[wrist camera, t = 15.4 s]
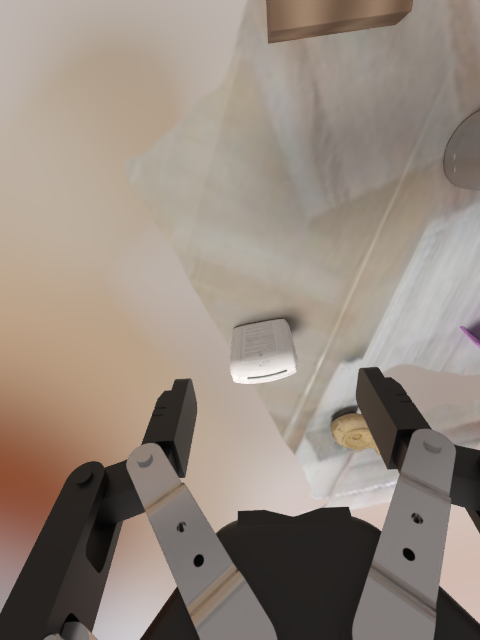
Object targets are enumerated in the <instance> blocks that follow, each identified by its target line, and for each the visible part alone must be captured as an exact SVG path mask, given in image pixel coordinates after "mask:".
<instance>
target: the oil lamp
mask: <svg viewBox="0 0 480 640" xmlns="http://www.w3.org/2000/svg"><path fill="white" fill-rule="evenodd" d="M331 431H332V435H333V438H334V439H335V441H336V442H337V443H338V444H339V445H341V446H344V447H347V448H351V449H357V450H358V451H361V450H363V449H366V448H374V449H375V450H376V452H377V454H378V455H381V454H380V452H379V450H378V448H377V445H376V443H375V441H374V439H373V437H372V435H371V432H370V430H369V428H368V426H367V424H366V422H365V420H364V417H363V415H362V414H356V413H349V414H345V415H343V416H340V417H339V418H337V419H336V420H334V421H333V423H332V424H331Z"/></svg>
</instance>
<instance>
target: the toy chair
mask: <svg viewBox="0 0 480 640" xmlns="http://www.w3.org/2000/svg"><path fill="white" fill-rule="evenodd" d="M460 328H461V329H462V330H463V331H464V333H465V334H466V335H467V336H468V337H469V338H470V339H471V340H472V341H473V342H474V343H475V344H476V345H477V346H478V347H480V341H479V340H477V339H476V338H475V337H474V336H473V335H472V334H471V333H469V332H468V331H467V330H466V329H465V328H464V327H463V326H461V327H460Z"/></svg>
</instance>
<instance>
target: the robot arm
mask: <svg viewBox="0 0 480 640" xmlns="http://www.w3.org/2000/svg"><path fill="white" fill-rule="evenodd" d="M444 170H445V173H446V176H447V177H448V179H449V180H450V182H451V183H453V184H454V185H455V186H457V187H460V188H464V189H471V190H479V191H480V110H479V111H478V112H476V113H474V114H472V115H471V116H470V117H468V118H467V119H466V120H465V121H464V122H463V123H462V124H461V125H460V126H459V127H458V128H457V130H456V131H455V133H454V134H453V135H452V137H451V139H450V141H449V143H448V145H447V149H446V152H445V157H444ZM356 400H357V404H358V407H359V409H360V411H361V413H362V415H363V417H364V420H365V422H366V424H367V426H368V428H369V430H370V432H371V435H372V437H373V439H374V441H375V443H376V445H377V448H378V450H379V452H380V454H381V456H382V458H383V460H384V463H385V465H386V467H387V469H398V471H399V473H400V475H399V478H398V481H397V484H396V488H395V491H394V494H393V497H392V500H391V504H390V507H389V510H388V513H387V516H386V520H385V523H384V526H383V529H382V531H380V530H379V529H378V528H376V527H374V526H373V525H371V524H370V523H368V522H366V521H363V520H361V519H358V518H356V517H352V516H351V513H350V510H349V507H331V508H319V509H316V510H313V511H310V512H307V513H304V514H301V515H299V516H295V517H292V516H287V515H283V514H279V513H275V512H270V511H266V510H254V511H238V520H237V521H234V522H232V523H230V524H228V525H226V526H224V527H223V528H221V529H220V530H219V531H218V532H217V533H216V534H215V532H214V531H213V529H212V527H211V526H210V524H209V522H208V521H207V519H206V517H205V516H204V514H203V512H202V511H201V509H200V508H199V506H198V504H197V502H196V501H195V499H194V497H193V496H192V494H191V492H190V491H189V489H188V488H187V486H186V485H185V483H182V482H181V481H180V479H179V478H185V475H186V470H187V465H188V459H189V453H190V448H191V443H192V437H193V432H194V427H195V421H196V415H197V402H196V397H195V392H194V388H193V383H192V380H191V379H176V380H175V381H174V384H173V387H172V390H171V391H164V392H163V393H162V395H161V396H160V397H159V398H158V400H157V402H156V405H155V409H154V411H153V413H152V417H151V419H150V422H149V425H148V427H147V430H146V433H145V436H144V439H143V441H142V444H141V446H139V447H138V448H136V449H135V450H134V451H133V452H132V453H131V454H130V455H129V457H128V459H127V460H125V461H122V462H120V463H117V464H114V465H111V466H108V467H105V468H104V467H103V465H102V464H101V463H99V462H95V461H92V462H87V463H85V464H82V465H81V466H79V467H78V468H76V469H75V470H74V471H73V472H72V473H71V474H70V475H69V477H68V478H67V480H66V482H65V484H64V486H63V488H62V490H61V492H60V494H59V496H58V498H57V500H56V502H55V504H54V506H53V508H52V510H51V512H50V514H49V516H48V518H47V520H46V522H45V525H44V526H43V528H42V530H41V532H40V534H39V536H38V538H37V541H36V542H35V545H34V547H33V549H32V550H31V553H30V555H29V557H28V559H27V561H26V563H25V565H24V567H23V569H22V571H21V573H20V575H19V577H18V579H17V581H16V583H15V585H14V587H13V589H12V591H11V593H10V595H9V597H8V599H7V601H6V603H5V605H4V607H3V609H2V611H1V613H0V640H97V638H96V637H95V636H94V635H93V634H92V630H93V627H94V623H95V620H96V616H97V612H98V609H99V605H100V602H101V598H102V595H103V591H104V587H105V584H106V580H107V577H108V573H109V570H110V566H111V562H112V559H113V555H114V552H115V548H116V545H117V541H118V537H119V534H120V530H121V527H122V523H123V520H126V519H129V518H131V517H134V516H136V515H139V514H141V513H144V512H146V514H147V516H148V519H149V521H150V524H151V526H152V528H153V531H154V533H155V535H156V537H157V540H158V542H159V544H160V547H161V549H162V551H163V554H164V556H165V558H166V561H167V563H168V565H169V568H170V570H171V572H172V575H173V577H174V579H175V582H176V584H177V587H176V589H175V590H174V592H173V593H172V595H171V596H170V597H169V599H168V600H167V602H166V603H165V605H164V606H163V607H162V609H161V610H160V612H159V613H158V614H157V616H156V617H155V619H154V620H153V622H152V623H151V624H150V626H149V627H148V629H147V630H146V632H145V633H144V635H143V636H142V637H141V639H140V640H480V624H479V623H478V622H477V621H476V620H475V619H474V618H473V617H472V616H471V615H470V614H469V613H468V612H466V610H465V609H463V608H462V607H461V606H460V605H459V604H458V603H457V602H456V601H455V600H454V599H453V598H452V597H451V596H450V595H449V594H447V592H446V591H444V590H443V589H442V588H441V587H440V586H439V582H440V575H441V568H442V561H443V555H444V549H445V542H446V535H447V527H448V521H449V515H450V508H451V504H454V505H458V506H461V507H465V508H466V510H467V512H468V514H469V515H470V517H471V519H472V520H473V522H474V524H475V526H476V528H477V529H478V531H479V533H480V450H476V449H471V448H466V447H461V446H457V445H454V444H453V443H452V442H451V441H450V440H449V439H448V438H447V437H446V436H444V435H443V434H441V433H439V432H437V431H434V430H432V429H431V427H430V426H429V425H428V423H427V422H426V420H425V419H424V417H423V416H422V415H421V413H420V412H419V410H418V409H417V407H416V406H415V405H414V403H412V400H411V399H410V397H409V396H408V395H407V393H406V392H405V390H404V389H403V387H402V386H401V385H400V384H399V383H398V382H396V381H395V380H394V379H392V378H391V377H390V378H385V377H384V376H383V374H382V373H381V371H380V369H379V368H378V367H369V368H360V369H359V373H358V381H357V388H356Z"/></svg>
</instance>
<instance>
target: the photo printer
mask: <svg viewBox="0 0 480 640" xmlns="http://www.w3.org/2000/svg"><path fill="white" fill-rule="evenodd" d="M296 366H297V355H296V351H295V347H294V343H293V339H292V335H291V331H290V327H289V324H288V323H287V322H286V321H285V319H276V320H270V321H264V322H259V323H254V324H249V325H244V326H240V327H236V328H234V329H233V333H232V343H231V355H230V372H231V375H232V377H233V381H234V382H236V383H243V384H253V383H263V382H269V381H274V380H278V379H281V378H284V377H287V376H290V375H292V374H294V373H296V372H297V371H296Z"/></svg>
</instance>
